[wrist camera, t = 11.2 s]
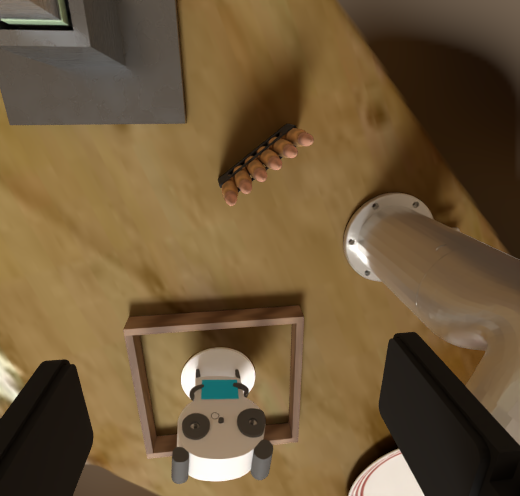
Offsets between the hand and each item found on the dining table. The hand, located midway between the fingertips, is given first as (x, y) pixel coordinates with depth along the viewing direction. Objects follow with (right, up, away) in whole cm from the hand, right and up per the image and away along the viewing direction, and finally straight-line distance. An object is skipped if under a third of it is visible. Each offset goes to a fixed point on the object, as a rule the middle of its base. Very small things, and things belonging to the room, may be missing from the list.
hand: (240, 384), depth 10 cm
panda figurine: (-6, -16, +42) cm, 45 cm away
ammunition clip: (0, +15, +30) cm, 34 cm away
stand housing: (-17, +26, +24) cm, 39 cm away
